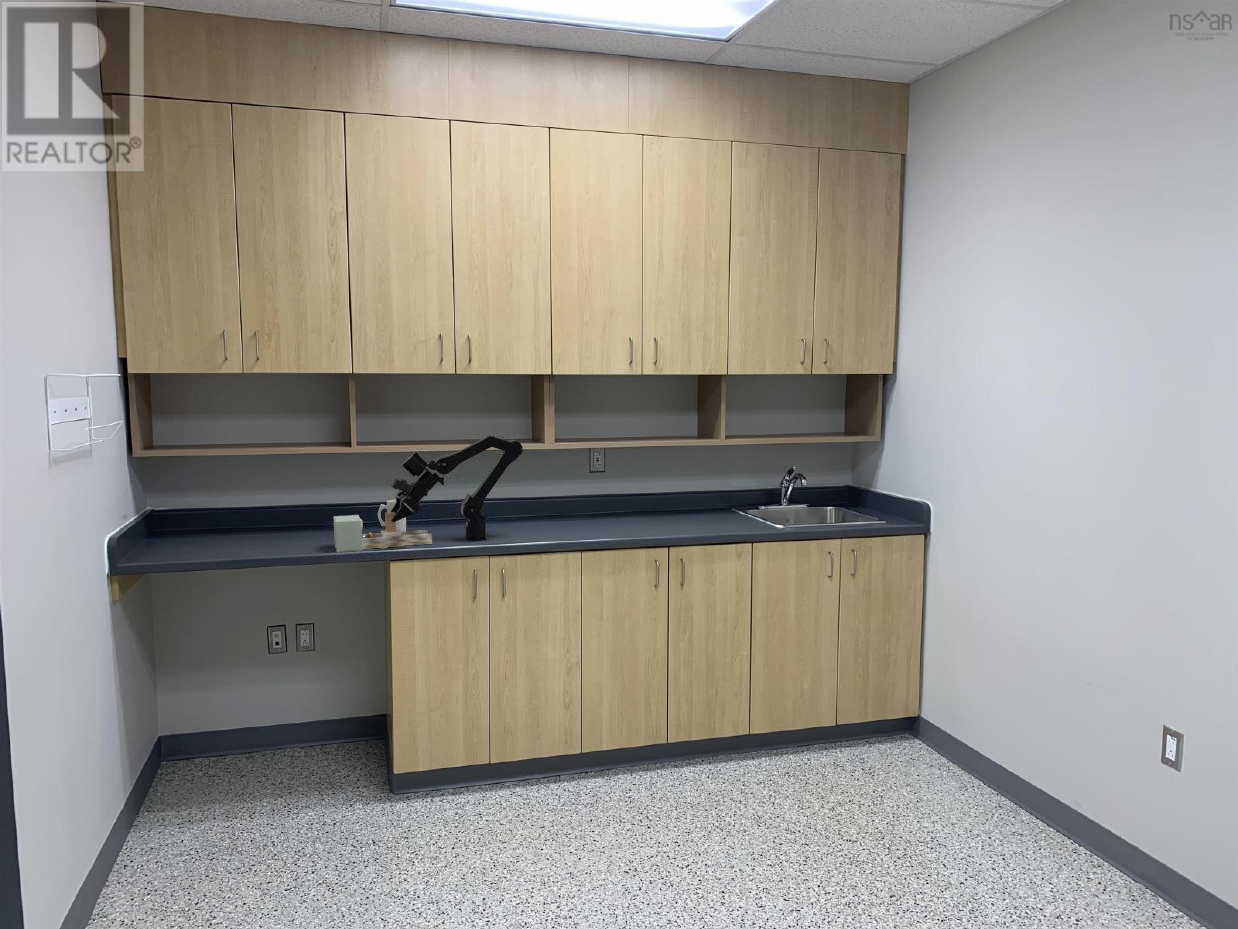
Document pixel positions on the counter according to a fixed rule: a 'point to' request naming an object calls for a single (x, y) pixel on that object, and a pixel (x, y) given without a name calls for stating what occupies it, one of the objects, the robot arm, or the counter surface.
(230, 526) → the counter surface
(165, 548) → the counter surface
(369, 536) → the button
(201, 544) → the counter surface
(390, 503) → the mug
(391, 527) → the brown post on base
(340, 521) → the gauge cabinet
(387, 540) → the patterned tray
